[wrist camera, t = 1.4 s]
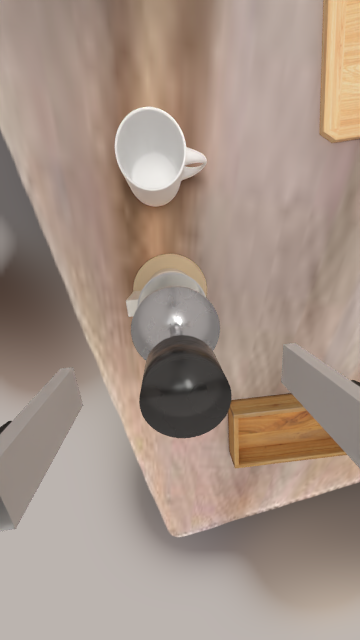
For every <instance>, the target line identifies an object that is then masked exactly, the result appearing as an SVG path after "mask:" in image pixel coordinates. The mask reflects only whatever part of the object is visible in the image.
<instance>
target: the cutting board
mask: <svg viewBox="0 0 360 640" xmlns="http://www.w3.org/2000/svg"><path fill="white" fill-rule="evenodd" d="M320 135H321V136H323V137H324V138H325V139H327V140H328V141H330V142H331V143H335V142H342V141H348V140H354V139H360V0H324V1H323V34H322V68H321V101H320Z"/></svg>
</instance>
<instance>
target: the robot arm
mask: <svg viewBox="0 0 360 640" xmlns="http://www.w3.org/2000/svg"><path fill="white" fill-rule="evenodd" d="M281 382H282V384H283V385H284V386H285V387H286V388H287V389H288V390H289V391H290V392H291V393H292V394H293V396H294V397H295V398H296V399H297V400H298V401H299V402H300V403H301V404H302V405H303V407H304V408H305V409H306V410H307V411H308V412H309V413H310V414H311V415H312V416H313V418H314V419H315V420H316V421H317V422H318V423H319V424H320V425H321V426H322V427H323V428H324V430H325V431H326V432H327V433H328V434H329V435H330V436H331V437H332V438H333V439H334V441H335V442H336V443H337V444H338V445H339V446H340V447H341V448H342V449H343V450H344V451H345V453H346V454H347V455H348V456H349V457H350V458H351V459H352V460H353V461H354V462H355V464H356V465H357V466H358V467H359V468H360V383H359V382H357V381H355V380H349V379H348V378H346V377H345V376H343V375H342V374H340V373H339V372H337V371H336V370H334V369H333V368H331V367H330V366H328V365H327V364H325V363H324V362H322V361H321V360H320V359H318V358H317V357H315V356H314V355H312V354H311V353H309V352H308V351H306V350H305V349H303V348H302V347H300V346H299V345H297V344H296V343H291V344H283V362H282V380H281ZM82 406H83V404H82V400H81V396H80V392H79V389H78V384H77V380H76V377H75V373H74V369H73V367H72V368H63V369H60V370H59V371H58V372H57V373H56V374H55V375H54V376H53V377H52V378H51V380H50V381H49V382H48V383H47V384H46V385H45V386H44V387H43V388H42V389H41V390H40V391H39V393H38V394H37V395H36V396H35V397H34V398H33V399H32V400H31V401H30V402H29V403H28V405H27V406H26V407H25V408H24V409H23V410H22V411H21V412H20V413H19V414H18V416H17V417H16V418H15V419H14V420H13V421H8V422H7V423H6V424H4V425H3V426H1V427H0V531H4V530H12V529H16V527H17V525H18V524H19V522H20V520H21V518H22V516H23V514H24V513H25V511H26V509H27V507H28V505H29V503H30V502H31V500H32V498H33V496H34V494H35V492H36V490H37V489H38V487H39V485H40V483H41V481H42V479H43V478H44V476H45V474H46V472H47V470H48V468H49V467H50V465H51V463H52V461H53V459H54V457H55V456H56V454H57V452H58V450H59V448H60V446H61V445H62V443H63V441H64V439H65V437H66V435H67V434H68V432H69V430H70V428H71V426H72V424H73V423H74V421H75V419H76V417H77V415H78V413H79V412H80V410H81V408H82Z"/></svg>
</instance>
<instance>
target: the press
mask: <svg viewBox="0 0 360 640" xmlns="http://www.w3.org/2000/svg"><path fill="white" fill-rule="evenodd" d="M168 286H184V287H188V288H191V289H194V290H196V291H198V292H199V293H201V294H202V295H203V296H205V297H206V296H207V285H206V280H205V277H204V275H203V273H202V271H201V270H200V268H199V267H198V266H197V265H196V264H195V263H194V262H193V261H191V260H190V259H188V258H186V257H184V256H181V255H177V254H163V255H159V256H156V257H154V258H152V259H150V260H149V261H147V262H146V263H145V264H144V265H143V266H142V267H141V268H140V270H139V271H138V273H137V275H136V277H135V281H134V285H133V293H132V294H131V295H130V296H129V298H128V299H127V300H126V304H127V311H128V317H132V316H134V314H135V312H136V310H137V308H138V306H139V304H140V303H141V302H142V301H143V300H144V298H146V297H147V296H148V295H149V294H151V293H152V292H154V291H156V290H158V289H160V288H164V287H168Z"/></svg>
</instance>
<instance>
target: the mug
mask: <svg viewBox="0 0 360 640" xmlns="http://www.w3.org/2000/svg"><path fill="white" fill-rule="evenodd" d="M115 155H116V159H117V163H118V165H119V168H120V170H121V172H122V173H123V175H124V177H125V179H126V181H127V183H128V185H129V187H130V189H131V190H132V192H133V194H134V195H135V196H136V197H137V198H138V199H139V200H140V201H141V202H142V203H144V204H146V205H149V206H154V207H158V206H162V205H165V204H167V203H169V202H170V201H171V200H172V199H173V198H174V197H175V196H176V194H177V192H178V190H179V187H180V183H181V181H182V180H184V179H187V178H190V177H192V176H194V175H195V174H197V173H198V172H200V171H201V170H202V169H203V168H204V167H205V165H206V163H207V159H206V157H205V156H204V155H203V154H202V153H200V152H198V151H196V150H193V149H190V148H188V147H186V143H185V138H184V135H183V132H182V130H181V128H180V126H179V125H178V123H177V122H176V121H175V120H174V118H173V117H171V116H170V115H169V114H168V113H167V112H165V111H163V110H161V109H158V108H155V107H141V108H138V109H136V110H134V111H132V112H131V113H129V114H128V115H127V116H126V117H125V118H124V119H123V121H122V122H121V124H120V126H119V128H118V130H117V133H116V138H115ZM193 163H203V164H202V165H201V166H198V167H185V165H188V164H193Z"/></svg>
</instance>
